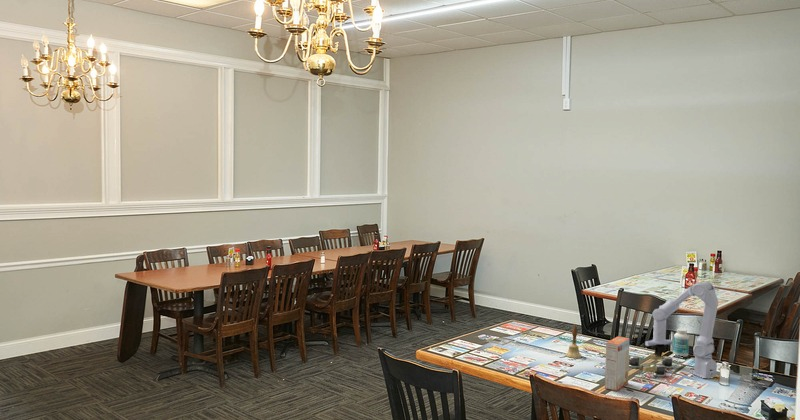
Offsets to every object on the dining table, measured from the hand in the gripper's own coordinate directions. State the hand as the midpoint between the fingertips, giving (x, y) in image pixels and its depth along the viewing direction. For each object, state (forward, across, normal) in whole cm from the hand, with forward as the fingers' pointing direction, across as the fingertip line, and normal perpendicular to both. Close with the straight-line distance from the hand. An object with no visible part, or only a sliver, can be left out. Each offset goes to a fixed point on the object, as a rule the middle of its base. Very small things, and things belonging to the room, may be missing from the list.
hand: (658, 359), depth 319 cm
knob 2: (+1, +1, +3) cm, 3 cm away
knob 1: (+1, +17, 0) cm, 18 cm away
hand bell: (+2, +35, -20) cm, 41 cm away
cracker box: (+2, +40, +24) cm, 47 cm away
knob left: (+1, +14, +16) cm, 21 cm away
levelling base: (+2, +7, +9) cm, 11 cm away
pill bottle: (+3, -22, -11) cm, 25 cm away
